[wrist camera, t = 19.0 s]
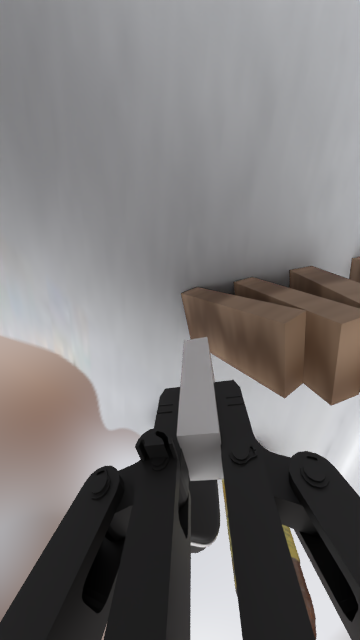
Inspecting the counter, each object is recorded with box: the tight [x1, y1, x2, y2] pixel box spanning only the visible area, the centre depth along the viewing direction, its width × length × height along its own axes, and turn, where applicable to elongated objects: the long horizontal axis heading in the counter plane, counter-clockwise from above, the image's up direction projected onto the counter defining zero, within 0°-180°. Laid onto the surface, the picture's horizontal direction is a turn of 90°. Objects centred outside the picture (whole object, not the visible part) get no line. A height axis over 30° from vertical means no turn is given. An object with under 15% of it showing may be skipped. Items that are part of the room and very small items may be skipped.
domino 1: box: [181, 287, 306, 398], centre depth 16 cm, size 5×2×10 cm
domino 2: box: [234, 277, 360, 406], centre depth 15 cm, size 5×2×10 cm, turn 12°
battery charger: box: [189, 477, 220, 553], centre depth 22 cm, size 7×4×11 cm, turn 70°
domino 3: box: [289, 266, 360, 392], centre depth 14 cm, size 5×2×10 cm, turn 12°
